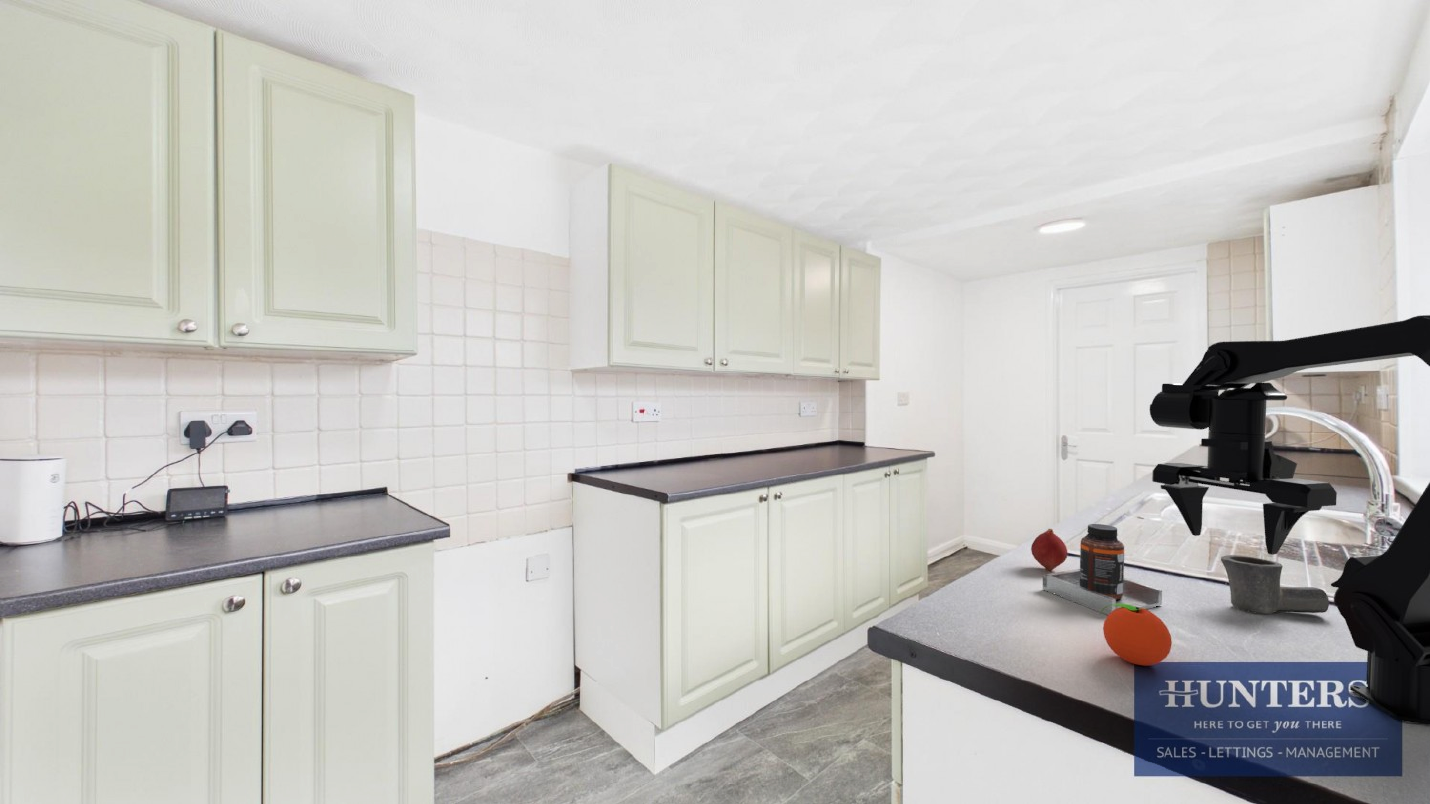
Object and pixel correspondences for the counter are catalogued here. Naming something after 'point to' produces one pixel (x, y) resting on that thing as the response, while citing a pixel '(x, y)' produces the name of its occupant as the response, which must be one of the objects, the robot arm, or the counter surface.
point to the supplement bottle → (1102, 561)
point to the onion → (1049, 550)
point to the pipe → (1268, 588)
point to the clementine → (1137, 635)
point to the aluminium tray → (1071, 590)
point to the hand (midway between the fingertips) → (1232, 544)
